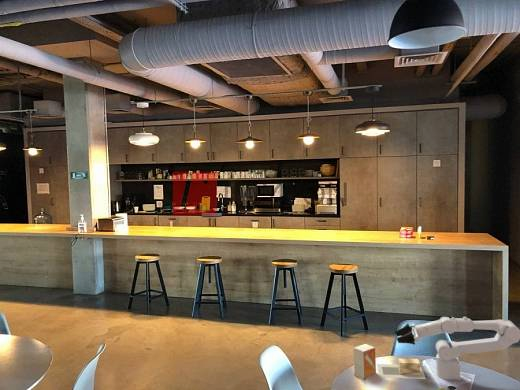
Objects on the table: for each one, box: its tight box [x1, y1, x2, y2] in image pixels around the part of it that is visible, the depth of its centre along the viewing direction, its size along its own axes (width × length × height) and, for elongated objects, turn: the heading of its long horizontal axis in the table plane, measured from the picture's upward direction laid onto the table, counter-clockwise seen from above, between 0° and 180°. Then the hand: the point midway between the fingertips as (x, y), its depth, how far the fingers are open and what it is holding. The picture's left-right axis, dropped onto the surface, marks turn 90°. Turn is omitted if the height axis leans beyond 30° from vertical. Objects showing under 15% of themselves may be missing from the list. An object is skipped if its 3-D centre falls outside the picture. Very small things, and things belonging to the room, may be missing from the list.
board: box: [376, 363, 427, 380], centre depth 197 cm, size 20×14×1 cm
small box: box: [353, 343, 377, 380], centre depth 197 cm, size 8×6×13 cm
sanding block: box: [397, 357, 421, 374], centre depth 196 cm, size 9×5×5 cm, turn 79°
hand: (396, 337), depth 195 cm, fingers open, 7 cm apart
